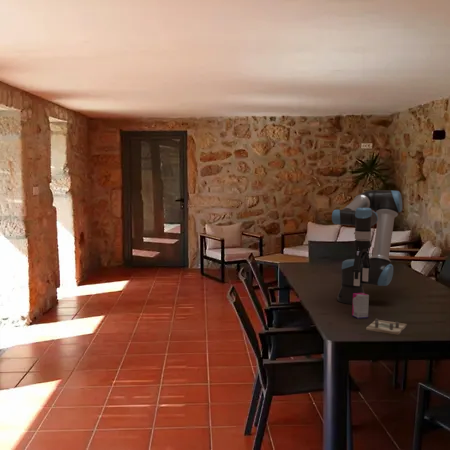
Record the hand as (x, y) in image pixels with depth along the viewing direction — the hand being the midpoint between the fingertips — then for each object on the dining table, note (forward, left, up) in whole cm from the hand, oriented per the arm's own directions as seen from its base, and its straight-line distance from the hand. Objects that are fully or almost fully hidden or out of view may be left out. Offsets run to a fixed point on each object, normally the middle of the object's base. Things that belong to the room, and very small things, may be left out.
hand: (360, 283), depth 260 cm
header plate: (+12, +16, -17) cm, 26 cm away
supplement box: (0, 0, -17) cm, 17 cm away
